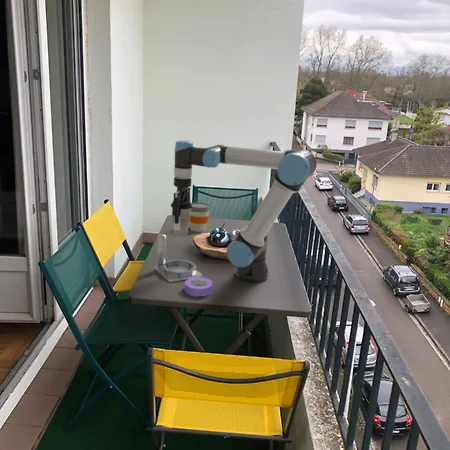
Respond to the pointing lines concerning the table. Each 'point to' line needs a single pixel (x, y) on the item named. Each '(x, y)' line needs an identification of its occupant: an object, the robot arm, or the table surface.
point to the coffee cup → (183, 218)
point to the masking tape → (198, 286)
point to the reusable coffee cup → (199, 216)
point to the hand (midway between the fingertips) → (180, 227)
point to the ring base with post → (174, 265)
